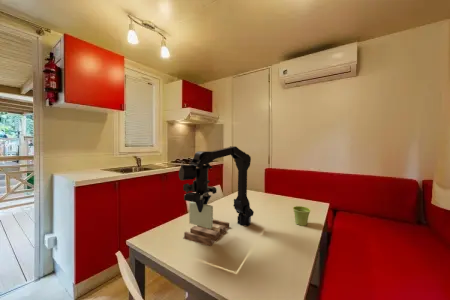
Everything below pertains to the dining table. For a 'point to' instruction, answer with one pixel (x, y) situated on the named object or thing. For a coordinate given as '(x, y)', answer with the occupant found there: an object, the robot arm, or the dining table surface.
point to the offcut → (215, 228)
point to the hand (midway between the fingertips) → (201, 211)
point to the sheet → (201, 215)
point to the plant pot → (301, 215)
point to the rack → (206, 233)
